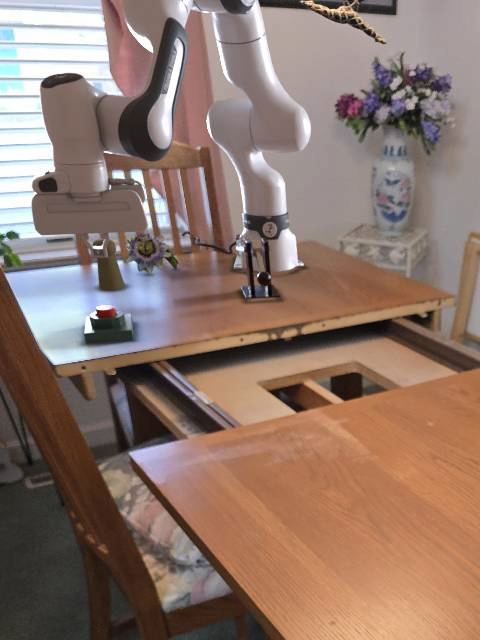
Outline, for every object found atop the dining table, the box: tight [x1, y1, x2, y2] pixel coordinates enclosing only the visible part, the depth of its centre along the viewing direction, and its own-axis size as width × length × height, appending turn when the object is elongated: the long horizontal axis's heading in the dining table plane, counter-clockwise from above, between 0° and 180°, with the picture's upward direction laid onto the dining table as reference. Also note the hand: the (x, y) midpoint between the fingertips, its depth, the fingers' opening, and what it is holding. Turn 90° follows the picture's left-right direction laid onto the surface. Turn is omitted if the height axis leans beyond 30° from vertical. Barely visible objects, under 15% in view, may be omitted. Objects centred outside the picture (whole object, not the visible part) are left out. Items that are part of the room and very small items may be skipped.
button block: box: [83, 309, 135, 345], centre depth 145 cm, size 11×9×4 cm
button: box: [95, 304, 116, 318], centre depth 144 cm, size 4×4×2 cm
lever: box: [251, 240, 272, 286], centre depth 162 cm, size 13×3×3 cm, turn 19°
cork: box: [91, 238, 126, 292], centre depth 169 cm, size 6×6×11 cm
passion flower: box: [123, 229, 179, 276], centre depth 184 cm, size 11×11×12 cm
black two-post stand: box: [240, 238, 281, 300], centre depth 167 cm, size 10×8×13 cm
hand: (99, 257), depth 138 cm, fingers closed
